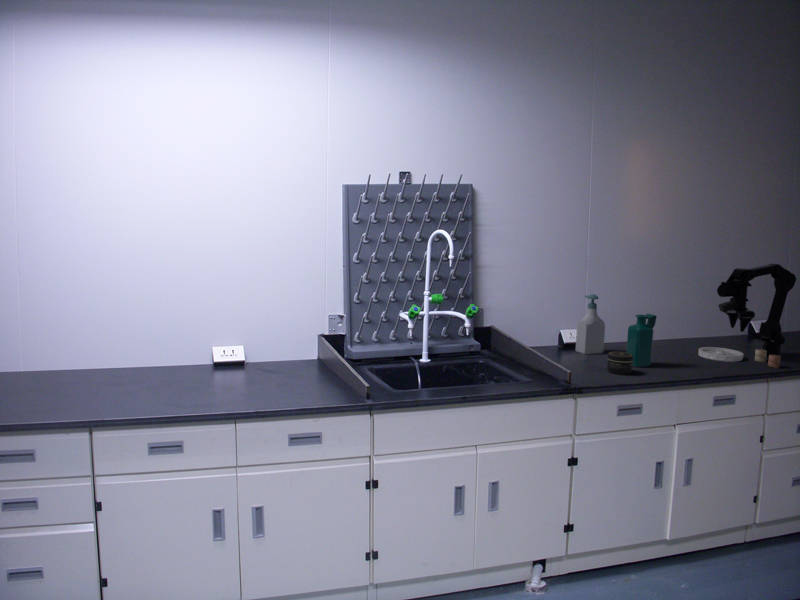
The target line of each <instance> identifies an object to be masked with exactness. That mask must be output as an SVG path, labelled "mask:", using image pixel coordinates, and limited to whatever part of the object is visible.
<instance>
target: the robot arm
mask: <svg viewBox="0 0 800 600" xmlns="http://www.w3.org/2000/svg"><path fill="white" fill-rule="evenodd" d="M767 275H770V276H771V278H772V279H773V280H774V281H773V286H774V289H775V291H774V296H773V299H772V303H771V307H770V310H769V314H768V317H767V320H765V321H764V322H763V321H762V322H761V323H760V326H759V327H760V328H759V329H758V331H759V336H760V340H761V342H763V344H762V348H761V349H762V350H766V351H767V354H766V357H769V355H778V356H781V357H782V355H781V346H782V345H784V344H785V342H786V339H785V337H784V336H783V334H782V325H781V323H780V321H781V318H782V314H783V312H784V308H785V304H786V300H787V297H788V294H789V292H790V291H791V290H792V289H793V288H794V286H795V284H796V283H797V282H796V281H797V276H796V275H795V273H793V272H791V271H789V270H788V269H786V268H785V267H783V266H782V265H781V264H777V263H770V264H767V265H766V264H765V265H762V266H756V267H752V268H739V267H738V268H737V267H736V268H734V269H733V270H732V272H731V274H730V275H729V277H728V278H727V280H726V281H721V282H720V284H719V285H718V287H717V289H716V292H717V295H718V296H719V297H720V298H729V297H730V299H729V300H728V301H725V302H722V303H719V304H718V308H719V309H718V310H719V311H720V312H721V313H722V312H723V314H726V315H727V316H728V320H729V324H730V328H731V329H734V328H735V326H736V324H737V322H738V321H739V329H740V332H741V333H743V332H744V331H745V329H746V328H747V327H748V325H749V323H751V321H752V320H753V319H755V318H756V317H755V316H756V313H755V311H753V310H751V309H749V308H748V307H747V302H749V299H748V298H747V297H748V288H749V287H752V286H753V285H752V283H750V281H753V280H754V279H755V278H757V277H761V276H767Z"/></svg>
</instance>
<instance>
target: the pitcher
mask: <svg viewBox="0 0 800 600" xmlns="http://www.w3.org/2000/svg"><path fill="white" fill-rule="evenodd" d="M634 317H635V318H636V323H635V324H632V325H629V326H628V328H627V340H626V351H625V353H629V354H632V355H633V365H632V367H634V368H646V367H648V368H649V367H650V366H651V365H652V355H653V343H654V327H655V326H656V322H657V315H655V314H652V313H646V314H636V315H634Z"/></svg>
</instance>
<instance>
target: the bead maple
mask: <svg viewBox="0 0 800 600" xmlns="http://www.w3.org/2000/svg"><path fill="white" fill-rule="evenodd" d="M754 351H755V352H754V353H755V354H754V362H757V361H758V363H766V362H767V356H766V354H767V351H766V350H762V348H761V349H760V348H755V350H754Z"/></svg>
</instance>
